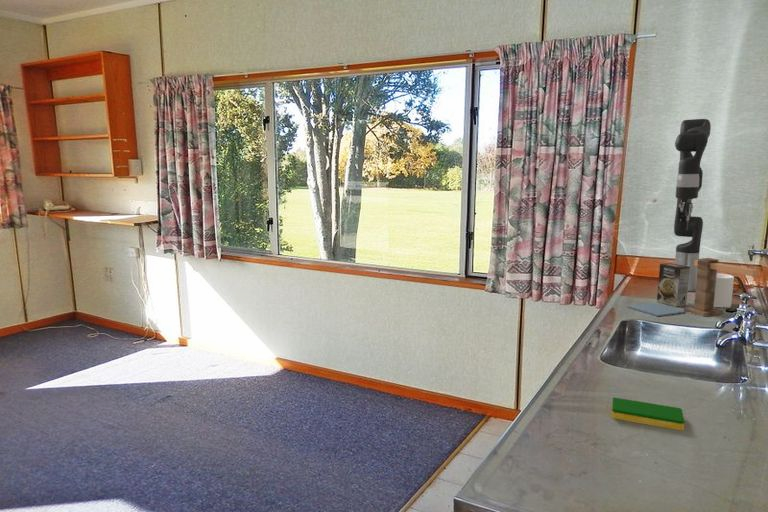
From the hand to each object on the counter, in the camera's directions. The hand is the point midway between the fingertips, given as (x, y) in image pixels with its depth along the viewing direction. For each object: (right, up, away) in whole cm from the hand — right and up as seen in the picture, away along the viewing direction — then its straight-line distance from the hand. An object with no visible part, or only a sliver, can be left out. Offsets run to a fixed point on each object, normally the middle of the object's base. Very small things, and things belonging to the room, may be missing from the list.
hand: (683, 230), depth 203 cm
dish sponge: (-60, -46, -89) cm, 117 cm away
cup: (+16, -30, +6) cm, 34 cm away
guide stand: (+4, -32, -6) cm, 32 cm away
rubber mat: (-12, -31, -2) cm, 34 cm away
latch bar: (+6, -15, -14) cm, 22 cm away
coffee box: (-1, -30, +7) cm, 31 cm away
